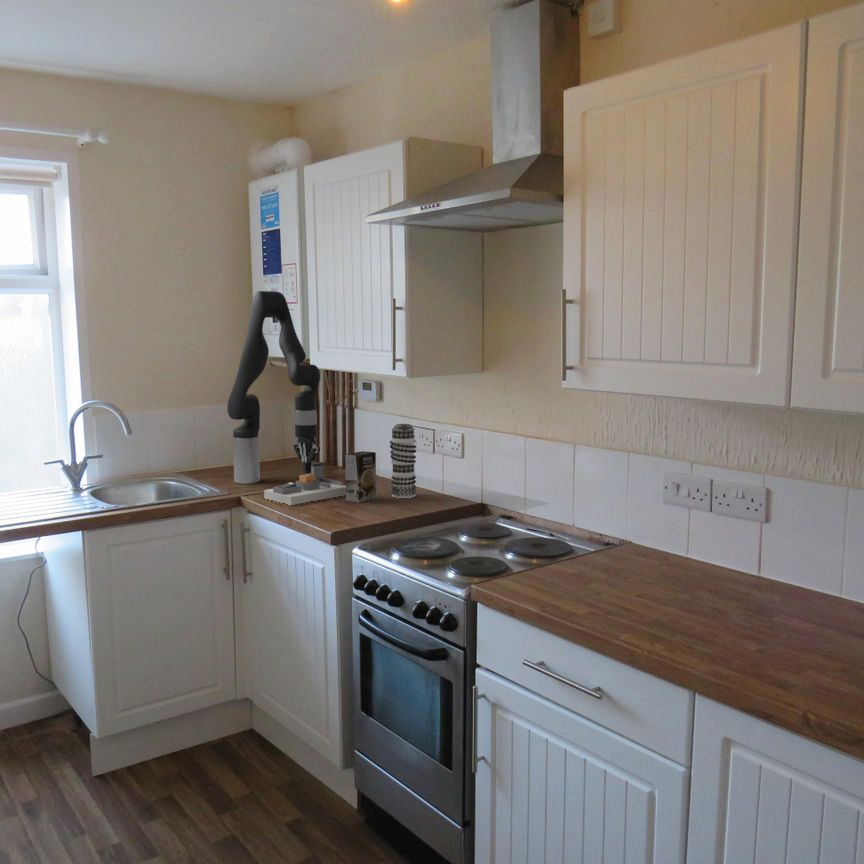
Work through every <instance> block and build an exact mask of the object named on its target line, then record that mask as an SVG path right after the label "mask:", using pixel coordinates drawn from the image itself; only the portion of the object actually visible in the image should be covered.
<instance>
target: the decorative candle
mask: <svg viewBox="0 0 864 864" xmlns="http://www.w3.org/2000/svg"><path fill="white" fill-rule="evenodd" d="M391 436H392V437H391V440H389V444H390V445H389V448H391V450H390V452H389V453H390V459H391V462H390V463H391V464H392V471H391V472H392V473H391V474H392V475H391V477H390V479H392V480H391V484H392V485H391V486H390V487H391V494H392V495H391V497H392V496H393V497H396V498H395V499H399V498H407V499H413V498H412V497H414V498H415V496H417V495H416V494H417V490H416V488H417V486H416V485H415V484H416V482H417V481H416V478H417V477H416V471H415V464H416V462H417V460H416V458H417V456H416V455H415V453H417V450H416V448H417V445H416V444H414V443H416V439H415V428H414V427H413V425H412V424H409V423H398V424H395V425H394V427H392V428H391ZM393 497H392V498H393Z"/></svg>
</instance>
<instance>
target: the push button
mask: <svg viewBox="0 0 864 864" xmlns="http://www.w3.org/2000/svg"><path fill="white" fill-rule="evenodd" d="M298 478H299V480H298V481H299V482H303V483H309V482H315V481H316V475H311V473H304V474H300V475H299V477H298Z"/></svg>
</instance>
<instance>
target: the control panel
mask: <svg viewBox="0 0 864 864" xmlns="http://www.w3.org/2000/svg"><path fill="white" fill-rule="evenodd" d="M295 483H296V487H291V488H285V489H282V488H278V486H279V485H276V486H273V487H272V488H268V489H264V490H263V494H264V495H263V499H264V498H265V499H264V500H267V499H269V500H268V501H271V500H273V501H272V502H275V501H276V502H275V503H279V502H280V503H279V504H282V503H285V504H284V505H286V504H288V505H287V506H290V505H293V506H296V505H295V504H298V505H300V504H299V503H304V504H306V503H305V502H309V501H314V502H316V501H315V500H320V499H325V500H327V499H326V498H330V499H333V498H332V497H336V498H339V497H338V496H341V497H345V496H344V495H346V484H344V482H343V481H340V480H334V479H331V478H325V477H323V482H319V481H317V480H316V481H315V482H309V483H303V482H299V480H295ZM320 501H321V500H320ZM309 503H310V502H309Z"/></svg>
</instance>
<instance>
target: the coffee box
mask: <svg viewBox="0 0 864 864" xmlns="http://www.w3.org/2000/svg"><path fill="white" fill-rule="evenodd" d="M344 455H345V460H344V461H345V485H346V496H345V501H346V502H347V501H348V502H352V503H358V504H359V503H363V502H366V501H367V500H368V501H371V500H370V499H372V500H375V499H374V498H376V499H377V458H376V457H377V452H375V451H363V450H362V451H357V452H350V453H345V454H344Z"/></svg>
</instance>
